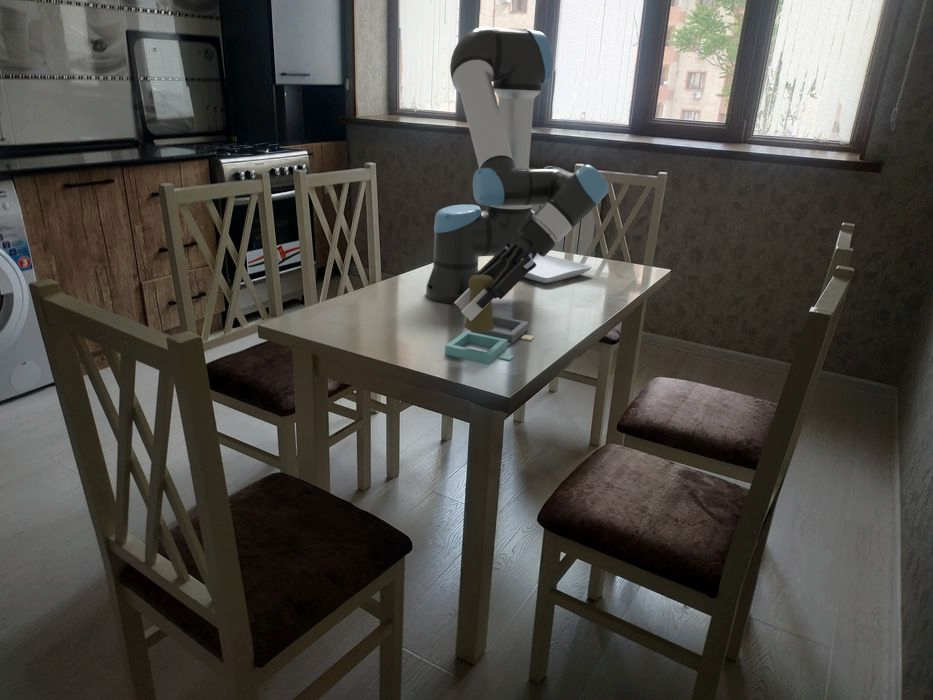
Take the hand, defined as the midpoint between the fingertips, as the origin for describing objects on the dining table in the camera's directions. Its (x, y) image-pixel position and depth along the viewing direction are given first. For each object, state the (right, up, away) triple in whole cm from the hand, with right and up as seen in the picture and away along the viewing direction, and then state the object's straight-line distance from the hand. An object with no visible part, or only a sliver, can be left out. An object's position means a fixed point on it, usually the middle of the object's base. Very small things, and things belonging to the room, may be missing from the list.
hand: (462, 311), depth 136 cm
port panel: (+7, -6, +10) cm, 14 cm away
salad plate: (+24, +15, +64) cm, 70 cm away
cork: (+4, -3, +2) cm, 5 cm away
